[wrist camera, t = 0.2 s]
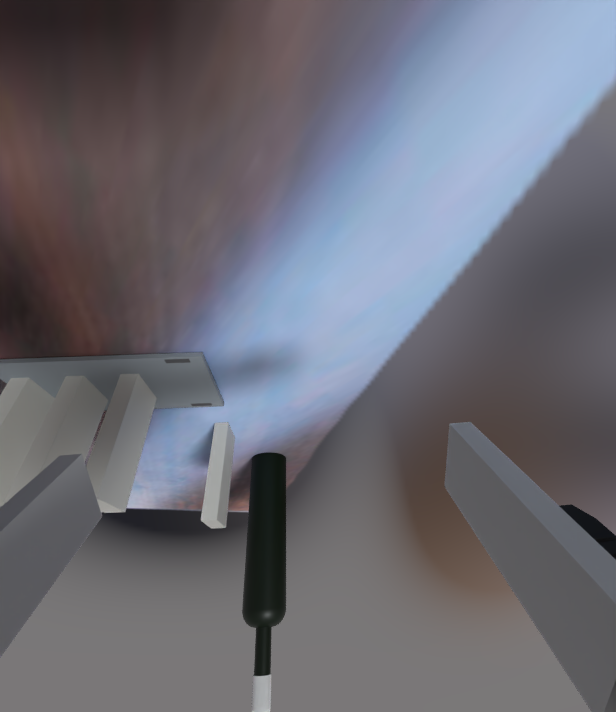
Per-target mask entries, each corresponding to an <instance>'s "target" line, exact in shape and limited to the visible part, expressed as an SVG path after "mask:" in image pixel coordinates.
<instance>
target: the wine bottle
mask: <svg viewBox="0 0 616 712" xmlns="http://www.w3.org/2000/svg"><path fill="white" fill-rule="evenodd" d="M285 612H286V458H285V456H283V455H281V454H277V453H261V454H258V455H255V456H254V457H253V458H252V469H251V485H250V501H249V517H248V533H247V548H246V563H245V580H244V594H243V610H242V613H243V618H244V620H245V622H246V623H247V624H248V625H249V626H251V627H255V628H256V644H255V669H254V675H253V696H252V712H270V707H271V706H270V704H271V703H270V702H271V673H270V667H271V627H272V626H276V625H277V624H279V623H280V622H281V621H282V619H283V617H284V615H285Z"/></svg>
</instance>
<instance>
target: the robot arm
mask: <svg viewBox="0 0 616 712" xmlns="http://www.w3.org/2000/svg"><path fill="white" fill-rule="evenodd" d="M445 488H446V490H447V491H448V493H449V494H450V496H451V497H452V499H453V500H454V502H455V503H456V505H457V506H458V508H459V509H460V510H461V512H462V514H463V516H464V517H465V518H466V520H467V521H468V523H469V525H470V526H471V528H472V529H473V531H474V532H475V534H476V535H477V537H478V538H479V540H480V542H481V543H482V545H483V546H484V548H485V549H486V551H487V552H488V554H489V555H490V557H491V558H492V560H493V561H494V563H495V564H496V566H497V568H498V569H499V571H500V572H501V574H502V575H503V577H504V578H505V580H506V581H507V583H508V584H509V586H510V587H511V589H512V591H513V592H514V593H515V595H516V597H517V598H518V600H519V601H520V603H521V604H522V606H523V607H524V609H525V610H526V612H527V614H528V615H529V617H530V618H531V619H532V621H533V623H534V624H535V626H536V627H537V629H538V630H539V632H540V633H541V635H542V636H543V638H544V639H545V641H546V642H547V644H548V645H549V647H550V649H551V650H552V652H553V653H554V655H555V656H556V658H557V659H558V661H559V663H560V664H561V666H562V667H563V669H564V670H565V672H566V673H567V675H568V676H569V678H570V679H571V681H572V682H573V684H574V685H575V687H576V689H577V690H578V692H579V693H580V695H581V696H582V698H583V699H584V701H585V702H586V704H587V705H588V707H589V708H590V710H591V711H592V712H616V536H615V535H614V534H613V533H612V532H611V531H609V530H608V529H607V528H606V527H605V526H604V525H603V524H602V523H600V522H599V521H598V520H597V519H596V518H594V517H592V516H591V515H589V514H587V513H585V512H584V511H582V510H580V509H578V508H577V507H575V506H573V505H562V506H558V505H557V504H556V503H555V502H554V501H553V500H552V499H551V498H550V497H549V496H548V495H547V494H546V493H545V492H544V491H543V490H542V489H541V488H539V487H538V486H537V485H536V484H535V483H534V482H533V481H532V480H531V479H530V478H529V477H528V476H527V475H526V474H525V473H523V472H522V470H520V469H519V468H518V467H517V466H516V465H515V464H514V463H513V462H512V461H511V460H510V459H509V458H508V457H507V456H506V455H505V454H503V453H502V452H501V451H500V450H499V449H498V448H497V447H496V446H495V445H494V444H493V443H492V442H491V441H489V439H488V438H486V436H485V435H483V434H482V433H481V432H480V431H479V430H478V429H477V428H476V427H475V426H474V425H473V424H472V423H471V422H467V423H455V424H450V426H449V438H448V451H447V464H446V475H445ZM101 517H102V514H101V511H100V508H99V505H98V502H97V499H96V495H95V492H94V489H93V486H92V483H91V480H90V477H89V474H88V471H87V468H86V465H85V462H84V458H83V455H82V454H73V455H60V456H59V457H58V458H56V459H55V460H54V461H53V462H52V463H51V464H50V465H48V466H47V467H46V468H45V469H44V470H43V471H42V472H40V473H39V474H38V475H37V476H36V477H35V478H34V479H32V480H31V481H30V482H29V483H28V484H27V485H25V486H24V487H23V488H22V489H21V490H20V491H19V492H17V493H16V494H15V495H14V496H13V497H12V498H11V499H9V500H8V501H7V502H6V503H5V504H4V505H3V506H1V507H0V657H1V656H2V655H3V653H4V652H5V650H6V649H7V648H8V646H9V645H10V643H11V642H12V641H13V639H14V638H15V637H16V635H17V634H18V632H19V631H20V630H21V628H22V627H23V625H24V624H25V623H26V621H27V620H28V618H29V617H30V616H31V614H32V613H33V611H34V610H35V609H36V607H37V606H38V605H39V603H40V602H41V600H42V599H43V598H44V596H45V595H46V594H47V592H48V591H49V589H50V588H51V587H52V585H53V584H54V582H55V581H56V580H57V578H58V577H59V576H60V574H61V573H62V571H63V570H64V569H65V567H66V566H67V564H68V563H69V562H70V560H71V559H72V557H73V556H74V555H75V553H76V552H77V551H78V549H79V548H80V546H81V545H82V543H83V542H84V541H85V539H86V538H87V537H88V535H89V534H90V533H91V531H92V530H93V528H94V527H95V526H96V524H97V523H98V521H99V520H100V519H101Z"/></svg>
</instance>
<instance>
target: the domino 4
mask: <svg viewBox="0 0 616 712" xmlns="http://www.w3.org/2000/svg"><path fill="white" fill-rule="evenodd" d="M234 443H235V436H234V434H233V432H232V429H231V427H230V425H229V423H228V422H225V423H215V426H214V433H213V440H212V447H211V453H210V460H209V467H208V474H207V481H206V488H205V495H204V502H203V509H202V516H201V521H202V522H204V523H205V524H206V525H208V526H209V527H210V528H226V522H227V512H228V502H229V492H230V482H231V472H232V462H233V452H234Z"/></svg>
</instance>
